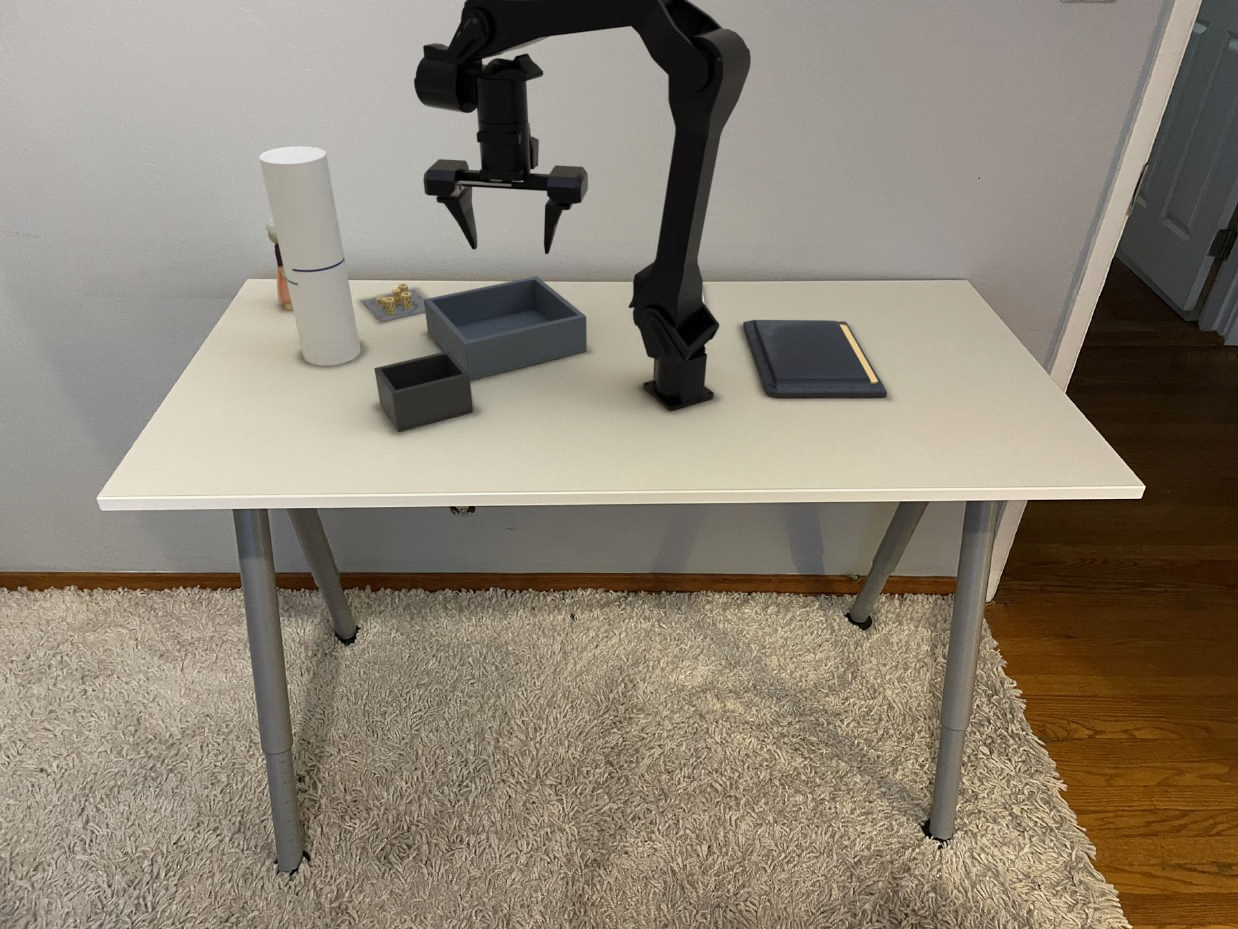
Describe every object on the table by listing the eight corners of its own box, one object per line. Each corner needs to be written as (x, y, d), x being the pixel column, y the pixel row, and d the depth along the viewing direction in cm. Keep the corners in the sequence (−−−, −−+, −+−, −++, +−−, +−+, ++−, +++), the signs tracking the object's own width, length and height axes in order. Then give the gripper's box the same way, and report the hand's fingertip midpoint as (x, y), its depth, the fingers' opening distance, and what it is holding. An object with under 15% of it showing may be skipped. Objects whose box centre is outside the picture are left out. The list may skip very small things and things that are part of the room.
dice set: (407, 294, 124) (405, 282, 123) (420, 307, 121) (418, 294, 120) (374, 301, 122) (372, 289, 121) (386, 315, 118) (384, 302, 117)
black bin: (473, 412, 98) (469, 374, 95) (398, 432, 94) (392, 393, 91) (452, 386, 103) (448, 350, 100) (380, 405, 99) (374, 367, 96)
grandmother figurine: (276, 296, 123) (256, 210, 115) (304, 292, 124) (286, 207, 117) (283, 318, 117) (263, 229, 110) (312, 313, 118) (293, 225, 111)
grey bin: (586, 351, 111) (586, 316, 108) (468, 381, 104) (464, 344, 101) (538, 309, 121) (537, 275, 118) (427, 334, 114) (423, 299, 111)
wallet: (743, 312, 117) (852, 313, 117) (742, 324, 118) (849, 326, 118) (764, 384, 101) (890, 386, 101) (762, 397, 102) (887, 399, 102)
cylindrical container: (345, 368, 106) (306, 166, 91) (292, 362, 107) (246, 161, 92) (370, 343, 111) (337, 148, 97) (320, 337, 113) (280, 144, 98)
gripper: (594, 106, 101) (594, 232, 110) (444, 99, 103) (456, 224, 112) (579, 129, 92) (581, 264, 101) (414, 121, 94) (430, 255, 103)
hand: (511, 250), depth 104 cm, fingers open, 9 cm apart
